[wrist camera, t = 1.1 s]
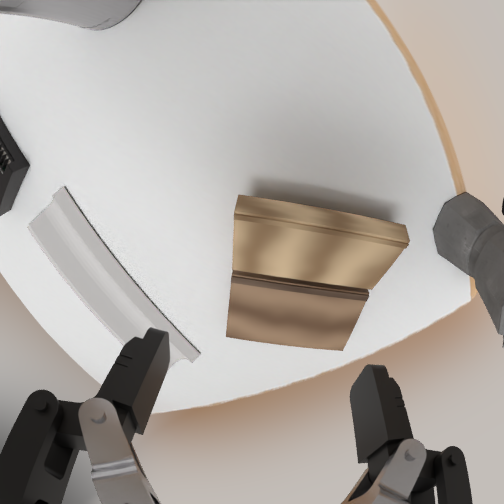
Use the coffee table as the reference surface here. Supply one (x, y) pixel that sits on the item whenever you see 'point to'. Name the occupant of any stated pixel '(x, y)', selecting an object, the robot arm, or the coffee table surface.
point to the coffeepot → (475, 248)
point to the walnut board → (292, 311)
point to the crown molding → (100, 276)
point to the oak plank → (313, 243)
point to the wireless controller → (10, 169)
